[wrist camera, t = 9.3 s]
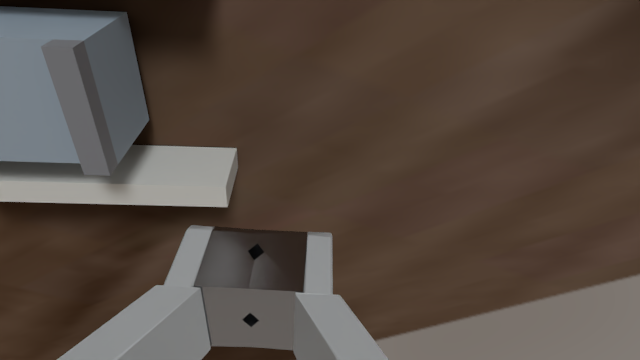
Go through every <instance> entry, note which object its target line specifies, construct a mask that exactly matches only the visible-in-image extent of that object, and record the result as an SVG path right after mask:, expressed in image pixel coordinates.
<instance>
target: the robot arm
mask: <svg viewBox="0 0 640 360" xmlns="http://www.w3.org/2000/svg"><path fill="white" fill-rule="evenodd" d="M306 249H307V250H306ZM211 346H228V347H258V348H271V349H283V350H293V352H294V355H295V357H296V359H297V360H389V359H388V358H387V357H386V355H385V354H384V353H383V351H382V350H381V349H380V347H379V346H378V345H377V343H376V342H375V341H374V339H373V338H372V337H371V335H370V334H369V333H368V331H367V330H366V329H365V328H364V326H363V325H362V324H361V322H360V321H359V320H358V318H357V317H356V316H355V314H354V313H353V312H352V310H351V309H350V308H349V306H348V305H347V304H346V302H345V301H344V300H343V298H342V297H341V296H340V295H333V276H332V235H331V233H324V232H308V235H307V232H296V231H275V230H254V229H241V228H229V227H216V226H215V227H209V226H197V225H191V226H190V227H189V228H188V229H187V230H186V232H185V235H184V237H183V240H182V242H181V244H180V247H179V249H178V252H177V254H176V257H175V259H174V261H173V264H172V266H171V269H170V271H169V273H168V276H167V278H166V281H165V283H164V285H156V286H154V287H153V288H152V289H150V290H149V291H148V292H146V293H145V294H144V295H142V296H141V297H140V298H138V299H137V300H136V301H134V302H133V303H132V304H130V305H129V306H128V307H126V308H125V309H124V310H122V311H121V312H120V313H118V314H117V315H116V316H114V317H113V318H112V319H110V320H109V321H108V322H106V323H105V324H104V325H102V326H101V327H100V328H98V329H97V330H96V331H94V332H93V333H92V334H90V335H89V336H88V337H86V338H85V339H84V340H82V341H81V342H80V343H78V344H77V345H76V346H74V347H73V348H72V349H70V350H69V351H68V352H66V353H65V354H64V355H62V356H61V357H60V358H58V359H57V360H202V359H203V357H204V356H205V355H206V354H207V353H208V352H209V350H210V349H211Z"/></svg>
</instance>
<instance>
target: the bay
mask: <svg viewBox="0 0 640 360" xmlns="http://www.w3.org/2000/svg"><path fill="white" fill-rule="evenodd" d="M237 170H238V159H237V148H215V147H183V146H151V145H131V147H130V148H129V150H128V151H127V152H126V154H125V155H124V157H123V158H122V160H121V161H120V162H119V164H118V165H117V167H116V168H115V170H114V171H113V172H112V174H111V175H110V176H106V175H84V173H83V170H82V167H81V164H80V163H49V162H16V161H0V201H1V202H40V203H80V204H119V205H159V206H198V207H228V204H229V200H230V196H231V193H232V189H233V185H234V181H235V177H236V173H237Z"/></svg>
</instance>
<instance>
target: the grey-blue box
mask: <svg viewBox="0 0 640 360" xmlns="http://www.w3.org/2000/svg"><path fill="white" fill-rule="evenodd" d="M148 121H149V116H148V111H147V106H146V101H145V97H144V92H143V87H142V82H141V78H140V73H139V68H138V63H137V59H136V54H135V49H134V44H133V40H132V35H131V30H130V25H129V20H128V16H127V12H116V11H94V10H72V9H49V8H27V7H5V6H0V161H16V162H49V163H80V164H81V167H82V170H83V173H84V175H106V176H110V175H111V174H112V172H113V171H114V170H115V168H116V167H117V165H118V164H119V162H120V161H121V160H122V158H123V157H124V155H125V154H126V152H127V151H128V150H129V148H130V147H131V145H132V144H133V142H134V141H135V140H136V138H137V137H138V135H139V134H140V132H141V131H142V130H143V128H144V127H145V125H146V124H147V122H148Z"/></svg>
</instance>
